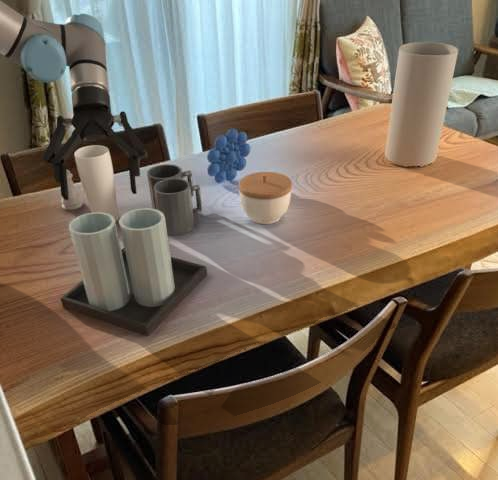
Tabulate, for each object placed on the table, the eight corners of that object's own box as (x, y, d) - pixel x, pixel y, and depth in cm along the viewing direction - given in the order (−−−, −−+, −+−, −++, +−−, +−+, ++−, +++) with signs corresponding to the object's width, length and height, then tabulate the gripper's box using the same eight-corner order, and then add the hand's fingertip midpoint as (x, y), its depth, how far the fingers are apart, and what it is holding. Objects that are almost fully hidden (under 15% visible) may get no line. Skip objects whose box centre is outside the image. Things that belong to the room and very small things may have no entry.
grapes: (240, 168, 132) (238, 119, 125) (256, 177, 128) (255, 127, 120) (199, 180, 127) (195, 130, 120) (214, 191, 123) (210, 139, 115)
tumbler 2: (126, 302, 91) (109, 224, 82) (150, 281, 96) (136, 204, 86) (160, 313, 89) (147, 233, 79) (183, 291, 93) (173, 213, 84)
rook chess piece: (72, 213, 117) (63, 178, 111) (58, 208, 118) (48, 173, 113) (87, 204, 119) (79, 170, 114) (73, 200, 121) (64, 166, 116)
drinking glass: (84, 220, 114) (67, 151, 104) (112, 209, 117) (97, 142, 108) (100, 231, 110) (84, 161, 100) (129, 220, 113) (115, 151, 104)
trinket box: (284, 202, 118) (285, 161, 112) (296, 226, 109) (297, 183, 104) (236, 207, 116) (234, 166, 110) (244, 232, 108) (242, 189, 102)
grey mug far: (162, 222, 112) (156, 181, 107) (147, 209, 117) (141, 170, 111) (202, 209, 116) (198, 169, 111) (186, 197, 121) (182, 158, 115)
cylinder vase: (440, 153, 136) (463, 44, 120) (429, 172, 128) (451, 58, 112) (392, 145, 141) (407, 40, 125) (378, 163, 132) (392, 52, 117)
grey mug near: (169, 239, 107) (163, 197, 101) (153, 224, 112) (147, 184, 106) (210, 225, 111) (207, 184, 105) (194, 211, 116) (190, 172, 110)
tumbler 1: (81, 307, 91) (58, 228, 81) (107, 285, 95) (88, 208, 86) (114, 318, 88) (95, 238, 79) (138, 295, 93) (123, 217, 83)
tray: (62, 307, 91) (59, 298, 89) (128, 253, 103) (127, 244, 102) (148, 336, 84) (146, 326, 83) (207, 275, 97) (206, 266, 96)
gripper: (154, 99, 114) (163, 195, 112) (33, 107, 112) (41, 205, 110) (150, 79, 107) (160, 182, 105) (21, 88, 105) (29, 193, 103)
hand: (99, 194), depth 108 cm, fingers open, 13 cm apart
